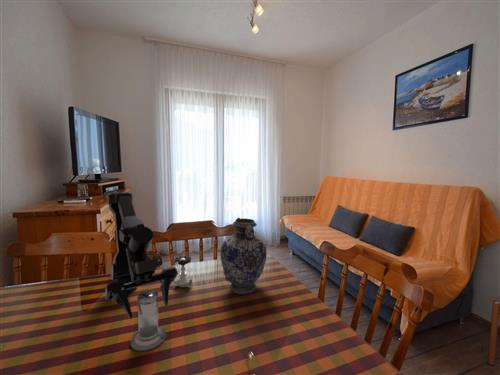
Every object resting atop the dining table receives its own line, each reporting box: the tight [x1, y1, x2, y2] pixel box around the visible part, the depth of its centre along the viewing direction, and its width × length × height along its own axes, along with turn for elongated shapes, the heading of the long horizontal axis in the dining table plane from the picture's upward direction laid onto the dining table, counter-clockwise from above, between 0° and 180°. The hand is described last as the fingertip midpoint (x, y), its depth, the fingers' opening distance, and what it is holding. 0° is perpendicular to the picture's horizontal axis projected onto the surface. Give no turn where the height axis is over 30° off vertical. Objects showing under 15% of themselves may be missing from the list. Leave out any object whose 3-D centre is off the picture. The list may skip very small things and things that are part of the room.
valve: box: [173, 255, 193, 289], centre depth 94 cm, size 7×7×12 cm
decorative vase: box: [220, 217, 267, 295], centre depth 93 cm, size 21×19×28 cm
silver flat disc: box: [130, 326, 167, 353], centre depth 65 cm, size 9×9×1 cm
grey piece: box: [137, 290, 159, 342], centre depth 64 cm, size 5×5×12 cm
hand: (149, 311), depth 63 cm, fingers open, 9 cm apart
